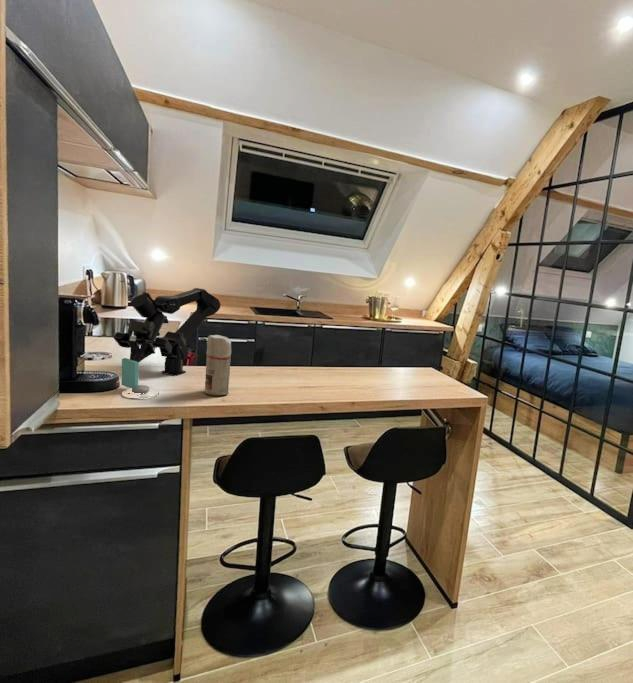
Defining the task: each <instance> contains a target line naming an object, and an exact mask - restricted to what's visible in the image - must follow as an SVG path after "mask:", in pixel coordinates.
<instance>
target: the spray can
mask: <svg viewBox="0 0 633 683" xmlns="http://www.w3.org/2000/svg"><path fill="white" fill-rule="evenodd" d="M231 355H232V340H231V339H229V337H227V336H223V335H220V334H213V335H212V334H210V335H208V336H207V340H206V361H205V362H206V363H205V364H206V366H205V381H204V384H205V385H204V391H203V393H204V392H205V393H204V394H207V395H208V396H215V397H216V396H217V397H218V396H227V395H229V388H230V387H229V385H230V371H231V357H232V356H231Z"/></svg>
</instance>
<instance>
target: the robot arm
mask: <svg viewBox="0 0 633 683" xmlns="http://www.w3.org/2000/svg"><path fill="white" fill-rule="evenodd" d="M194 302H195V303H196V310H195V311H194V312H192V314H191V315H190V316H189V317H188V318H187V319H186V320H185V322H183V323H182V324H181V326H179V328H178V329H177V330H176V331H175V332H173V331H168V332H166V333H165V335H164V336H163V337H160V335H161V333H160V330H161V328H162V327H163V325H164V324H169V319H168V316H167V315H168V314H169V315H172V314H175V313H176V312H178V311H179V310H180V309H181V307H183V306H185V305H189V304H192V303H194ZM130 305H131V307H132V308H133V310H135V311H136V312H137V314H139V316H141V317H142V318H145V319H144V321H139V320H138V321H137V320H131V321H130V322H129V326H128V331H129V332H130V331H131V332H133V333H132V335H133V336H131V335H130V334H129V332H122V331H116V332H115V334H114V335H113V337H112V338H113V339H114V341H115V342H116V343H117V345H119V347H121V348H126V349H130V355H129V359H130V360H133V361H137V362H139V363H141V362H142V361H144V360H145V359H146V358H147V357H149V356H151V355H153V354H156V349H157V348H159V352H160V355H161V357H165V360H164V361H165V362H164V370H162V371H161V373H162V372H164V373H163V374H165V373H168V374H167V375H169V374H172V375H171V376H174V375H176V376H178V374H179V375H181V374H186V373H187V371H186V370H184V368H183V367H184V360H186V359H187V358H188V357H189V352H188V351H187V349H186V345H187V343H186V342H187V339H188V338H190V337H191V335H192V334H193V333H194V332H195V331H196V330H197V328H198V327H200V325H201V324H202V323H203V322H204V321H205V320H206V319H207V318H208V317H210V316H214V315H215V314H217V312H219V311H220V309H221V307H222V306H221V302H220V300H219V299H218V298H216V296H214V295H212V294H210V293H209V292H208V291H207V290H206V289H204V288H199V287H197V288H196V287H195V288H192V289H190V290H186V291H184V292H181V293H177V294H174V295H159V296H156V297H155V299H153V298H152V297H151V295H150V293H149V292H145V291H144V292H142V294H139V295H137V296H136V297H134V298H132V299H131V303H130ZM165 314H167V315H165Z"/></svg>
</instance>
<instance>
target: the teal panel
mask: <svg viewBox="0 0 633 683" xmlns="http://www.w3.org/2000/svg"><path fill="white" fill-rule="evenodd" d="M139 364H140V362H137V361H133V360H130V358H126V357H124V358H121V386H123V387H126V388H132V392H134V393H146V392H148V391H149V386H148V385H142V384H139V367H140V366H139Z"/></svg>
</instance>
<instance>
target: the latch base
mask: <svg viewBox="0 0 633 683" xmlns="http://www.w3.org/2000/svg"><path fill="white" fill-rule="evenodd" d="M148 387H149V386H148ZM158 393H159V394H160V391H159V389H158V388H155V387H152V386H151V387H149V391H148V392H146V393H144V394H143V393H141V394H140V395H141V396H140V397H139V398H148V397H153V396H156V395H157V394H158ZM128 394H130V393H128ZM137 396H139V395H137ZM156 397H157V396H156ZM153 398H154V397H153Z"/></svg>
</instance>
